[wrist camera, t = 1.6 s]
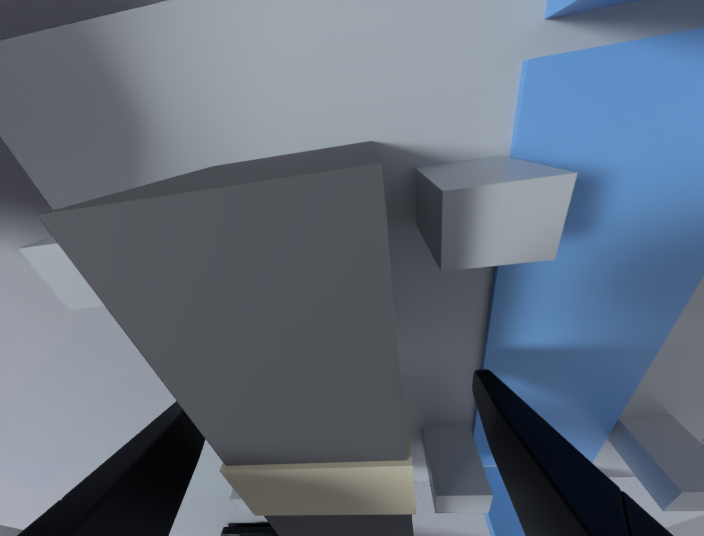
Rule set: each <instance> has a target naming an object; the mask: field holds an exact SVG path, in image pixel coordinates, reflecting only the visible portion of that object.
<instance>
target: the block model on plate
mask: <svg viewBox="0 0 704 536" xmlns="http://www.w3.org/2000/svg"><path fill="white" fill-rule="evenodd" d="M0 137H1V138H2V140H3V141H4V143H5V144H6V145H7V147H8V148H9V149H10V151H11V152H12V154H13V155H14V156H15V158H16V159H17V161H18V162H19V163H20V165H21V166H22V168H23V169H24V170H25V172H26V173H27V175H28V176H29V177H30V179H31V180H32V182H33V183H34V184H35V186H36V187H37V188H38V190H39V191H40V193H41V194H42V195H43V197H44V198H45V200H46V201H47V202H48V204H49V205H50V207H51V208H52V209H53V210H56V209H60V208H63V207H67V206H71V205H74V204H78V203H81V202H85V201H89V200H92V199H96V198H99V197H103V196H107V195H110V194H114V193H118V192H121V191H125V190H128V189H132V188H136V187H139V186H143V185H147V184H150V183H154V182H157V181H161V180H165V179H168V178H172V177H175V176H179V175H183V174H186V173H190V172H194V171H197V170H201V169H204V168H208V167H212V166H217V165H223V164H230V163H236V162H242V161H248V160H255V159H261V158H267V157H273V156H279V155H286V154H292V153H298V152H304V151H311V150H317V149H323V148H329V147H336V146H342V145H348V144H354V143H361V142H367V141H372V143H373V145H374V147H375V149H376V152H377V154H378V156H379V158H380V160H381V162H382V169H383V181H384V192H385V204H386V216H387V228H388V240H389V252H390V264H391V275H392V287H393V299H394V311H395V323H396V335H397V347H398V358H399V370H400V381H401V388H402V395H403V402H404V408H405V415H406V422H407V429H408V436H409V443H410V450H411V457H412V464H413V477H414V481H430V487H431V492H432V497H433V503H434V508H435V513H484V515H485V519H486V522H487V525H488V528H489V531H490V535H491V536H525V533H524V531H523V528H522V526H521V524H520V521H519V519H518V516H517V514H516V511H515V509H514V507H513V504H512V502H511V499H510V497H509V494H508V492H507V490H506V487H505V485H504V482H503V480H502V477H501V475H500V473H499V470H498V468H497V465H496V463H495V460H494V458H493V456H492V453H491V450H490V448H489V445H488V442H487V438H486V435H485V432H484V429H483V425H482V422H481V419H480V415H479V412H478V409H477V405H476V402H475V399H474V395H473V391H472V383H473V374H474V371H475V370H477V369H488V370H490V371H491V372H493V373H494V374H495V375H496V376H497V377H498V378H499V379H500V380H501V381H502V382H504V383H505V384H506V385H507V386H508V387H509V388H510V389H511V390H512V391H513V392H515V393H516V394H517V395H518V396H519V397H520V398H521V399H522V400H523V401H525V402H526V403H527V404H528V405H529V406H530V407H531V408H532V409H533V410H534V411H536V412H537V413H538V414H539V415H540V416H541V417H542V418H543V419H544V420H545V421H547V422H548V423H549V424H550V425H551V426H552V427H553V428H554V429H555V430H556V431H558V432H559V433H560V434H561V435H562V436H563V437H564V438H565V439H566V440H567V441H569V442H570V443H571V444H572V445H573V446H574V447H575V448H576V449H577V450H579V451H580V452H581V453H582V454H583V455H584V456H585V457H586V458H587V459H588V460H590V461H591V462H592V463H593V464H594V465H595V466H596V467H597V468H598V469H599V470H601V471H602V472H603V473H604V474H605V475H606V476H607V477H637V478H638V480H639V481H640V482H641V483H642V485H643V486H644V487H645V489H646V490H647V491H648V492H649V494H650V495H651V496H652V498H653V499H654V500H655V501H656V503H657V504H658V505H659V507H660V508H661V509H662V511H704V446H703V445H702V444H701V443H700V442H701V441H702V439H703V438H704V0H168V1H163V2H159V3H155V4H151V5H147V6H142V7H138V8H134V9H130V10H125V11H121V12H117V13H113V14H109V15H104V16H100V17H96V18H92V19H87V20H83V21H79V22H75V23H71V24H66V25H62V26H58V27H54V28H50V29H45V30H41V31H37V32H33V33H28V34H24V35H20V36H16V37H12V38H7V39H3V40H0ZM18 251H19V252H20V253H21V254H22V255H23V257H24V258H25V259H26V260H27V261H28V262H29V264H30V265H31V266H32V267H33V268H34V269H35V271H36V272H37V273H38V274H39V275H40V277H41V278H42V279H43V280H44V281H45V282H46V284H47V285H48V286H49V287H50V288H51V290H52V291H53V292H54V293H55V294H56V295H57V297H58V298H59V299H60V300H61V301H62V302H63V304H64V305H65V306H66V307H67V308H68V310H76V309H86V308H96V307H105V305H104V304H103V303H102V301H101V300H100V299H99V297H98V296H97V295H96V294H95V292H94V291H93V290H92V288H91V287H90V286H89V284H88V283H87V282H86V280H85V279H84V278H83V276H82V275H81V274H80V272H79V271H78V270H77V268H76V267H75V266H74V264H73V263H72V262H71V260H70V259H69V258H68V257H67V255H66V254H65V253H64V251H63V250H62V249H61V247H60V246H59V245H58V243H57V242H56V241H55V239H54V238H53V237H52V236H51V237H49V238H46V239H43V240H40V241H38V242H35V243H32V244H29V245H26V246H24V247H21V248H18ZM230 500H231V502H232V503H233V504H234V505H235V506H236V507H237V509H238V510H239V511H240V512H241V513H242V515H254V514H253V513H252V511H251V510H250V509H249V508H248V506H247V505H246V504H245V502H244V501H243V500H242V499H241V497H240V496H239V495H238V494H237V492H236V491H235V490H234V489H233V491H232V494H231V496H230Z"/></svg>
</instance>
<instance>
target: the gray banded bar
mask: <svg viewBox="0 0 704 536" xmlns="http://www.w3.org/2000/svg"><path fill="white" fill-rule="evenodd" d="M36 216H37V217H38V218H39V220H40V221H41V222H42V224H43V225H44V226H45V227H46V229H47V230H48V231H49V233H50V234H51V235H52V237H53V238H54V239H55V241H56V242H57V243H58V245H59V246H60V247H61V249H62V250H63V251H64V253H65V254H66V255H67V257H68V258H69V259H70V260H71V262H72V263H73V264H74V266H75V267H76V268H77V270H78V271H79V272H80V274H81V275H82V276H83V278H84V279H85V280H86V282H87V283H88V284H89V286H90V287H91V288H92V290H93V291H94V292H95V294H96V295H97V296H98V297H99V299H100V300H101V301H102V303H103V304H104V305H105V307H106V308H107V309H108V311H109V312H110V313H111V315H112V316H113V317H114V319H115V320H116V321H117V323H118V324H119V325H120V327H121V328H122V329H123V330H124V332H125V333H126V334H127V336H128V337H129V338H130V340H131V341H132V342H133V344H134V345H135V346H136V348H137V349H138V350H139V352H140V353H141V354H142V356H143V357H144V358H145V360H146V361H147V362H148V364H149V365H150V366H151V367H152V369H153V370H154V371H155V373H156V374H157V375H158V377H159V378H160V379H161V381H162V382H163V383H164V385H165V386H166V387H167V389H168V390H169V391H170V393H171V394H172V395H173V397H174V398H175V399H176V401H177V402H178V403H179V404H180V406H181V407H182V408H183V410H184V411H185V412H186V414H187V415H188V416H189V418H190V419H191V420H192V422H193V423H194V424H195V426H196V427H197V428H198V430H199V431H200V432H201V434H202V435H203V436H204V437H205V439H206V440H207V441H208V443H209V444H210V445H211V447H212V448H213V449H214V451H215V452H216V453H217V455H218V456H219V457H220V459H221V460H222V461H223V464H222V466H221V469H220V472H221V474H222V475H223V476H224V477H225V479H226V480H227V481H228V482H229V484H230V485H231V486H232V487H233V489H234V490H235V491H236V492H237V494H238V495H239V496H240V497H241V499H242V500H243V501H244V502H245V504H246V505H247V506H248V508H249V509H250V510H251V511H252V513H253V514H254V515H255V516H264V517H265V518H266V519H267V521H268V522H269V523H270V525H271V526H272V527H273V529H274V530H275V531H276V533H277V534H278V535H279V536H413V525H412V514H416V508H415V492H414V477H413V464H412V457H411V450H410V443H409V436H408V429H407V422H406V415H405V408H404V402H403V395H402V388H401V381H400V370H399V358H398V347H397V335H396V323H395V311H394V299H393V287H392V275H391V264H390V252H389V240H388V228H387V216H386V204H385V192H384V181H383V169H382V162H381V160H380V158H379V156H378V154H377V152H376V149H375V147H374V145H373V143H372V141H367V142H361V143H354V144H348V145H342V146H336V147H329V148H323V149H317V150H311V151H304V152H298V153H292V154H286V155H279V156H273V157H267V158H261V159H255V160H248V161H242V162H236V163H230V164H223V165H217V166H212V167H208V168H204V169H201V170H197V171H194V172H190V173H186V174H183V175H179V176H175V177H172V178H168V179H165V180H161V181H157V182H154V183H150V184H147V185H143V186H139V187H136V188H132V189H128V190H125V191H121V192H118V193H114V194H110V195H107V196H103V197H99V198H96V199H92V200H89V201H85V202H81V203H78V204H74V205H71V206H67V207H63V208H60V209H56V210H52V211H49V212H45V213H42V214H38V215H36Z"/></svg>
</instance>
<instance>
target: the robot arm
mask: <svg viewBox="0 0 704 536" xmlns="http://www.w3.org/2000/svg"><path fill="white" fill-rule="evenodd" d="M472 391H473V395H474V399H475V402H476V405H477V409H478V412H479V415H480V419H481V422H482V425H483V429H484V432H485V435H486V438H487V442H488V445H489V448H490V450H491V453H492V456H493V458H494V460H495V463H496V465H497V468H498V470H499V473H500V475H501V477H502V480H503V482H504V485H505V487H506V490H507V492H508V494H509V497H510V499H511V502H512V504H513V507H514V509H515V511H516V514H517V516H518V519H519V521H520V524H521V526H522V528H523V531H524V533H525V536H673V535H672V534H671V533H670V532H668V530H666V529H665V528H664V527H663V526H662V525H661V524H660V523H658V522H657V521H656V520H655V519H654V518H653V517H652V516H650V515H649V514H648V513H647V512H646V511H645V510H644V509H643V508H642V507H640V506H639V505H638V504H637V503H636V502H635V501H634V500H633V499H632V498H630V497H629V496H628V495H627V494H626V493H625V492H623V491H621V490H620V488H619V487H618V486H617V485H616V484H615V483H614V482H613V481H612V480H610V479H609V478H608V477H607V476H606V475H605V474H604V473H603V472H602V471H601V470H599V469H598V468H597V467H596V466H595V465H594V464H593V463H592V462H591V461H590V460H588V459H587V458H586V457H585V456H584V455H583V454H582V453H581V452H580V451H579V450H577V449H576V448H575V447H574V446H573V445H572V444H571V443H570V442H569V441H567V440H566V439H565V438H564V437H563V436H562V435H561V434H560V433H559V432H558V431H556V430H555V429H554V428H553V427H552V426H551V425H550V424H549V423H548V422H547V421H545V420H544V419H543V418H542V417H541V416H540V415H539V414H538V413H537V412H536V411H534V410H533V409H532V408H531V407H530V406H529V405H528V404H527V403H526V402H525V401H523V400H522V399H521V398H520V397H519V396H518V395H517V394H516V393H515V392H513V391H512V390H511V389H510V388H509V387H508V386H507V385H506V384H505V383H504V382H502V381H501V380H500V379H499V378H498V377H497V376H496V375H495V374H494V373H493V372H491V371H490V370H488V369H477V370H475V371H474V374H473V383H472ZM204 442H205V437H204V436H203V435H202V434H201V432H200V431H199V430H198V428H197V427H196V426H195V424H194V423H193V422H192V420H191V419H190V418H189V416H188V415H187V414H186V412H185V411H184V410H183V408H182V407H181V406H180V404H179V403H178V402H177V401H176V402H175V403H174V404H173V405H171V406H170V407H169V408H168V409H167V410H166V411H164V412H163V413H162V414H161V415H160V416H158V417H157V418H156V419H155V420H154V421H153V422H151V423H150V424H149V425H148V426H147V427H145V428H144V429H143V430H142V431H141V432H140V433H138V434H137V435H136V436H135V437H134V438H132V439H131V440H130V441H129V442H128V443H126V444H125V445H124V446H123V447H122V448H121V449H119V450H118V451H117V452H116V453H115V454H113V455H112V456H111V457H110V458H109V459H108V460H106V461H105V462H104V463H103V464H102V465H100V466H99V467H98V468H97V469H96V470H95V471H93V472H92V473H91V474H90V475H89V476H87V477H86V478H85V479H84V480H83V481H82V482H80V483H79V484H78V485H77V486H76V487H74V488H73V489H72V490H71V491H70V492H68V493H67V494H66V495H65V496H64V497H63V498H62V500H59V501H58V502H57V503H55V504H54V505H53V506H52V507H51V508H49V509H48V510H47V511H46V512H45V513H44V514H42V515H41V516H40V517H39V518H38V519H36V520H35V521H34V522H33V523H32V524H30V525H29V526H28V527H27V528H26V529H24V530H23V531H22V532H21V533H20V534H18V535H17V536H169V533H170V531H171V528H172V526H173V523H174V520H175V518H176V515H177V513H178V510H179V508H180V505H181V503H182V500H183V498H184V495H185V493H186V490H187V488H188V485H189V483H190V480H191V478H192V475H193V473H194V470H195V468H196V465H197V463H198V460H199V457H200V455H201V452H202V449H203V445H204ZM221 536H279V535H278V534H277V533H276V531H275V530H274V529H273V527H224V528H223V530H222V533H221Z"/></svg>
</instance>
